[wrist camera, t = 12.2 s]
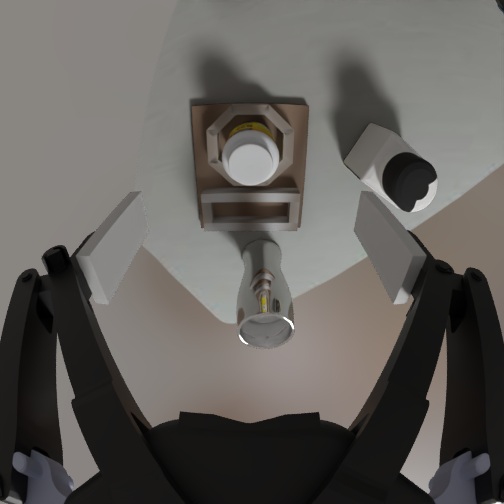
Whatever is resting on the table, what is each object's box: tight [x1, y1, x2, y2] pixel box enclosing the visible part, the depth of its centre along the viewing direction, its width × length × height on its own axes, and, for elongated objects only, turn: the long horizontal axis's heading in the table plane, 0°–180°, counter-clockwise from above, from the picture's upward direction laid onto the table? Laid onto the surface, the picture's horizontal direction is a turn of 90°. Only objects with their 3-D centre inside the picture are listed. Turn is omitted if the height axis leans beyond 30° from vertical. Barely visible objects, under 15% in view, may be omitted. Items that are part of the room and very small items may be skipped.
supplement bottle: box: [222, 121, 279, 185], centre depth 27 cm, size 6×6×10 cm
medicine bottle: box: [343, 123, 437, 212], centre depth 28 cm, size 7×7×12 cm
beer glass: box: [236, 240, 295, 349], centre depth 36 cm, size 7×7×15 cm
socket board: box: [192, 103, 309, 231], centre depth 33 cm, size 14×17×3 cm
